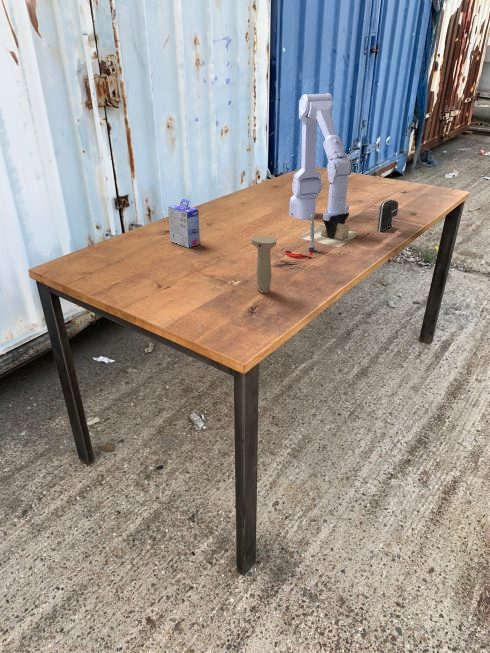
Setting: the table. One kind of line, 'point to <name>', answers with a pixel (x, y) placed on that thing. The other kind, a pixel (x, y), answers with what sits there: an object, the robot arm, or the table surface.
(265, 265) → the handle
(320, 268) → the table surface
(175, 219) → the ink cartridge box
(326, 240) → the beige square mat
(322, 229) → the block
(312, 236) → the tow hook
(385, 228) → the battery charger
